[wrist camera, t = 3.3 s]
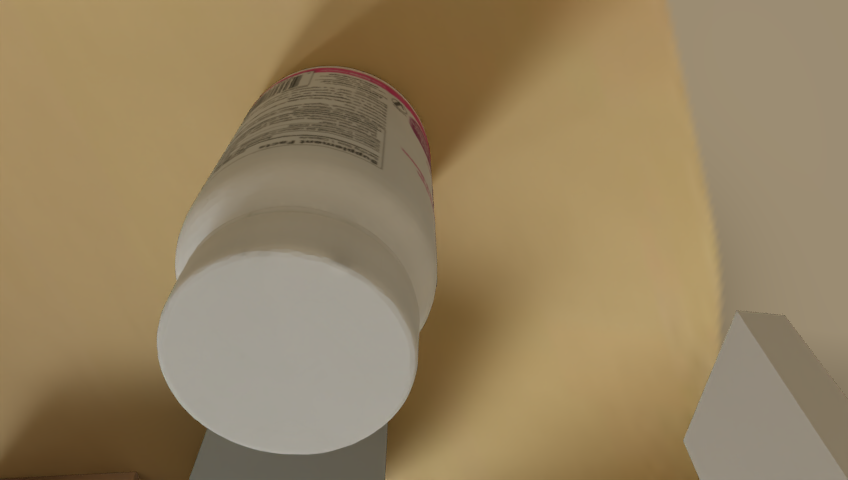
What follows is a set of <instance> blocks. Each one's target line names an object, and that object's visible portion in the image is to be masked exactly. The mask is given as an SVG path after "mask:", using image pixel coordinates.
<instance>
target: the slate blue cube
mask: <svg viewBox="0 0 848 480" xmlns="http://www.w3.org/2000/svg"><path fill="white" fill-rule="evenodd" d="M387 429H388V422H387V423H386V424H385V425H384V426H382V427H381V428H380V429H378V430H377V431H376V432H374V433H373V434H371V435H370V436H368V437H366V438H364V439H362V440H360V441H358V442H357V443H354V444H352V445H349V446H346V447H343V448H340V449H337V450H333V451H329V452H325V453H318V454H278V453H271V452H265V451H260V450H256V449H252V448H248V447H245V446H243V445H240V444H237V443H234V442H232V441H230V440H228V439H226V438H224V437H222V436H220V435H218V434H216V433H214V432H213V431H211V430H210V429H208V428H207V431H206V433H205V436H204V439H203V442H202V445H201V447H200V450H199V453H198V456H197V458H196V461H195V464H194V467H193V470H192V472H191V475H190V478H189V480H385V470H386V450H387Z"/></svg>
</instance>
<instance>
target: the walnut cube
mask: <svg viewBox="0 0 848 480" xmlns="http://www.w3.org/2000/svg"><path fill="white" fill-rule="evenodd" d="M0 480H139V477H138V474H137V472H121V473H102V474H83V475H63V476H44V477H25V478H5V479H0Z"/></svg>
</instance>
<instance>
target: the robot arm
mask: <svg viewBox="0 0 848 480" xmlns="http://www.w3.org/2000/svg"><path fill="white" fill-rule="evenodd" d="M683 442H684V444H685V446H686V449H687V451H688V453H689V456H690V458H691V460H692V463H693V465H694V467H695V470H696V472H697V474H698V477H699V479H700V480H848V399H847V398H846V396H845V395H844V393H843V392H842V391H841V389H840V388H839V387H838V385H837V384H836V383H835V381H834V380H833V379H832V378H831V376H830V375H829V373H828V372H827V371H826V369H825V368H824V367H823V365H822V364H821V363H820V361H819V360H818V359H817V357H816V356H815V355H814V354H813V352H812V351H811V350H810V348H809V347H808V345H807V344H806V343H805V342H804V340H803V339H802V337H801V336H800V335H799V334H798V332H797V331H796V330H795V328H794V327H793V326H792V324H791V323H790V322H789V320H788V319H787V318H786V316H785V315H778V314H768V313H757V312H748V311H738V310H737V311H736V313H735V315H734V318H733V320H732V323H731V325H730V328H729V330H728V332H727V335H726V337H725V340H724V342H723V345H722V347H721V349H720V352H719V354H718V357H717V359H716V362H715V364H714V367H713V369H712V371H711V374H710V376H709V379H708V381H707V384H706V386H705V388H704V391H703V393H702V396H701V398H700V401H699V403H698V406H697V408H696V410H695V413H694V415H693V418H692V420H691V423H690V425H689V427H688V430H687V432H686V435H685V437H684V440H683Z"/></svg>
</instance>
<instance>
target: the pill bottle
mask: <svg viewBox="0 0 848 480" xmlns="http://www.w3.org/2000/svg"><path fill="white" fill-rule="evenodd" d="M175 273H176V280H177V281H176V283H175V285H174V287H173V289H172V291H171V293H170V295H169V297H168V299H167V301H166V303H165V305H164V308H163V310H162V313H161V317H160V321H159V326H158V331H157V350H158V359H159V363H160V367H161V371H162V374H163V376H164V378H165V380H166V382H167V385H168V387H169V388H170V390H171V391H172V393H173V394H174V396H175V397H176V399H177V400H178V402H179V403H180V404H181V406H182V407H183V408H184V409H185V410H186V411H187V412H188V413H189V414H190V415H191V416H192V417H193V418H194V419H196V420H197V421H199V422H200V423H201V424H202V425H203V426H205V427H206V428H208V429H210V430H211V431H213V432H214V433H216V434H218V435H220V436H222V437H224V438H226V439H228V440H230V441H232V442H234V443H237V444H240V445H243V446H245V447H248V448H252V449H256V450H260V451H265V452H271V453H278V454H318V453H325V452H329V451H333V450H337V449H340V448H343V447H346V446H349V445H352V444H354V443H357V442H358V441H360V440H362V439H364V438H366V437H368V436H370V435H371V434H373V433H374V432H376V431H377V430H378V429H380V428H381V427H382V426H384V425H385V424H386V423H387V422H388V421H389V420H391V419H392V418H393V416H394V415H395V414H396V413H397V412H398V411H399V409H400V408H401V407H402V405H403V404H404V402H405V401H406V399H407V397H408V395H409V393H410V391H411V388H412V386H413V383H414V380H415V376H416V372H417V367H418V344H419V332H420V331H421V329H422V328H423V326H424V324H425V323H426V320H427V318H428V316H429V313H430V310H431V307H432V304H433V301H434V296H435V291H436V286H437V251H436V234H435V216H434V202H433V187H432V175H431V158H430V150H429V144H428V140H427V136H426V133H425V130H424V127H423V125H422V123H421V121H420V119H419V117H418V115H417V113H416V112H415V110H414V109H413V107H412V106H411V105H410V103H409V102H408V101H407V100H406V99H405V98H404V96H403V95H402V94H401V93H399V92H398V91H397V90H396V89H395V88H394V87H392V86H391V85H389V84H388V83H386V82H385V81H383V80H381V79H379V78H377V77H375V76H373V75H371V74H368V73H365V72H363V71H359V70H356V69H352V68H348V67H340V66H319V67H312V68H307V69H304V70H300V71H298V72H295V73H293V74H290V75H288V76H286V77H284V78H283V79H281V80H279V81H278V82H276V83H275V84H274V85H272V86H271V87H270V88H269V89H268V90H266V91H265V92H264V93H263V94H262V95H261V96H260V98H259V99H258V100H257V101H256V102H255V104H254V105H253V106H252V108H251V109H250V110H249V112H248V114H247V115H246V117H245V118H244V121H243V123H242V124H241V126H240V127H239V129H238V130H237V132H236V134H235V136H234V137H233V139H232V141H231V142H230V144H229V145H228V147H227V149H226V151H225V152H224V153H223V155H222V157H221V159H220V160H219V162H218V164H217V165H216V167H215V168H214V170H213V172H212V173H211V175H210V176H209V178H208V180H207V181H206V183H205V185H204V186H203V187H202V189H201V191H200V193H199V194H198V196H197V198H196V199H195V201H194V203H193V205H192V206H191V208H190V210H189V212H188V214H187V216H186V218H185V221H184V223H183V226H182V229H181V232H180V234H179V237H178V243H177V249H176V259H175Z"/></svg>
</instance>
